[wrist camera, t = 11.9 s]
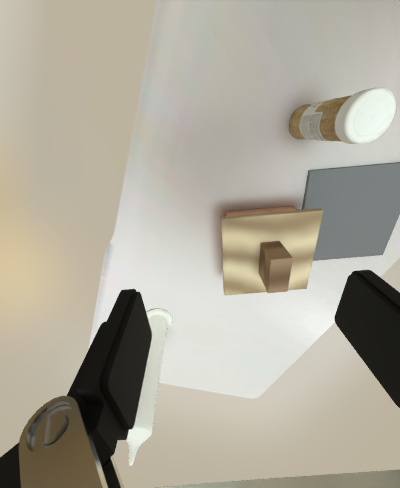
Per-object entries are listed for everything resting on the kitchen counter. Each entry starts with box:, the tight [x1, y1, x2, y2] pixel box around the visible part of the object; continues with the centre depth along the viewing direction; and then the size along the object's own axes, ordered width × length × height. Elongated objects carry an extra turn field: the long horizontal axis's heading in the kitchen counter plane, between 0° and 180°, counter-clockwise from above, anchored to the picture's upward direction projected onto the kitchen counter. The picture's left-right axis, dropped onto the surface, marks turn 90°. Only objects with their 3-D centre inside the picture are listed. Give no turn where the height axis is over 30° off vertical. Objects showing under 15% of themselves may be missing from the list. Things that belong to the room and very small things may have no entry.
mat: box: [302, 162, 400, 261], centre depth 38 cm, size 18×18×1 cm
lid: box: [221, 208, 324, 295], centre depth 32 cm, size 15×15×6 cm
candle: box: [126, 309, 173, 466], centre depth 39 cm, size 7×7×25 cm
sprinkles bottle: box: [290, 88, 396, 144], centre depth 25 cm, size 5×5×14 cm
